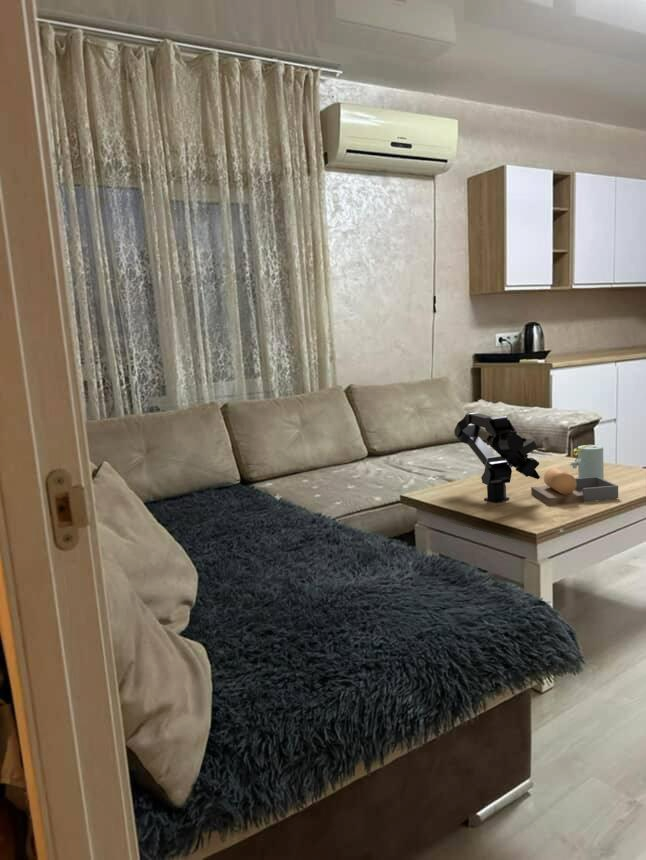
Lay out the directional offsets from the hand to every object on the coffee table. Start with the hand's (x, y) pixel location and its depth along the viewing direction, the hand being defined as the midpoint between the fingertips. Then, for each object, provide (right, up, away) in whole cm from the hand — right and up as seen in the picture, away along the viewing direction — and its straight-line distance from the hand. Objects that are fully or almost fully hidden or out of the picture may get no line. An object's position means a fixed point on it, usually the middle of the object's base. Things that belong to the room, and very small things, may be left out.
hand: (538, 478), depth 213 cm
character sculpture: (+26, -3, +21) cm, 34 cm away
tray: (+19, -6, +1) cm, 20 cm away
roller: (+7, -1, 0) cm, 7 cm away
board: (+7, -7, +1) cm, 10 cm away
